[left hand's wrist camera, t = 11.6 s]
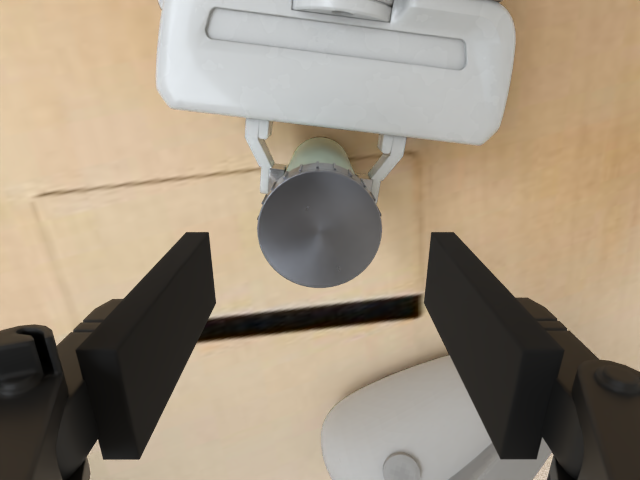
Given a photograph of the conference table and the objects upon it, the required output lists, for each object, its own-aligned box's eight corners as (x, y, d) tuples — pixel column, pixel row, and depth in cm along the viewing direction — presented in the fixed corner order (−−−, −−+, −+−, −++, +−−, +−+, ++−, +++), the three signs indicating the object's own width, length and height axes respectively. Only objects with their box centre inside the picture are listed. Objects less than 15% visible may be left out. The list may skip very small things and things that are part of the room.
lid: (238, 224, 19) (229, 238, 18) (313, 134, 18) (313, 139, 16) (324, 291, 21) (324, 311, 19) (401, 213, 19) (410, 226, 17)
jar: (278, 169, 32) (245, 233, 18) (317, 124, 31) (314, 153, 17) (322, 207, 33) (324, 295, 19) (361, 164, 32) (394, 224, 18)
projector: (498, 503, 46) (576, 680, 32) (301, 473, 44) (293, 646, 30) (582, 342, 38) (731, 485, 24) (347, 298, 36) (364, 425, 23)
